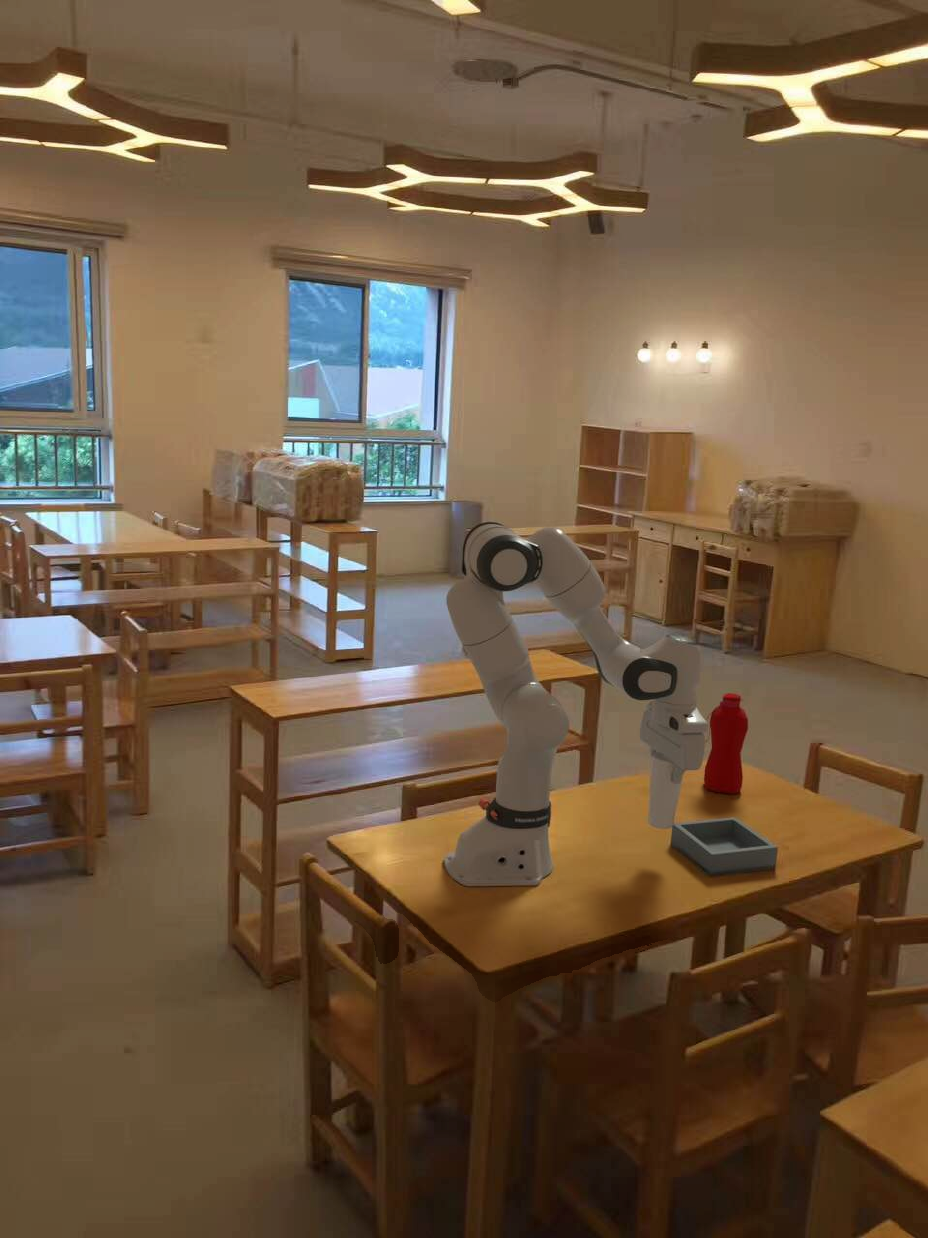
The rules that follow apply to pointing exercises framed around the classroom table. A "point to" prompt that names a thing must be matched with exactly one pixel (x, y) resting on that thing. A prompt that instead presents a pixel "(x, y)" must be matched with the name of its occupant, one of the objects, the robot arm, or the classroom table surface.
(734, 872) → the bin
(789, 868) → the classroom table surface
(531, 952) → the classroom table surface
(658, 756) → the drinking glass
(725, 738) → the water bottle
